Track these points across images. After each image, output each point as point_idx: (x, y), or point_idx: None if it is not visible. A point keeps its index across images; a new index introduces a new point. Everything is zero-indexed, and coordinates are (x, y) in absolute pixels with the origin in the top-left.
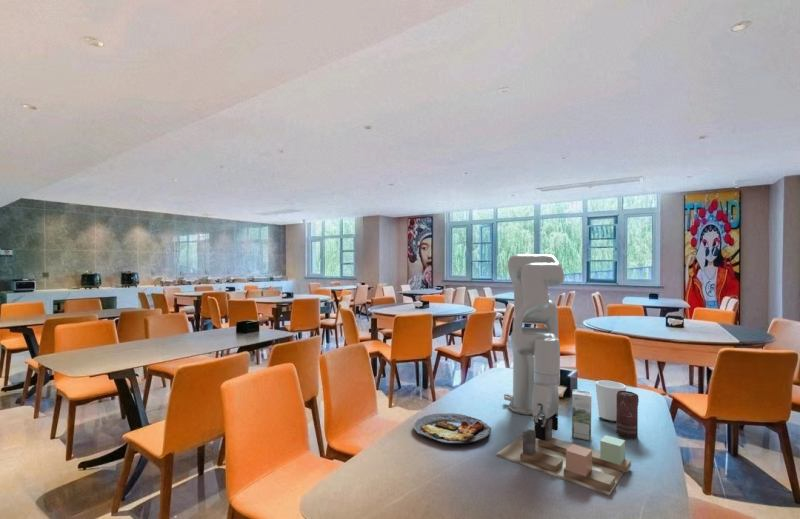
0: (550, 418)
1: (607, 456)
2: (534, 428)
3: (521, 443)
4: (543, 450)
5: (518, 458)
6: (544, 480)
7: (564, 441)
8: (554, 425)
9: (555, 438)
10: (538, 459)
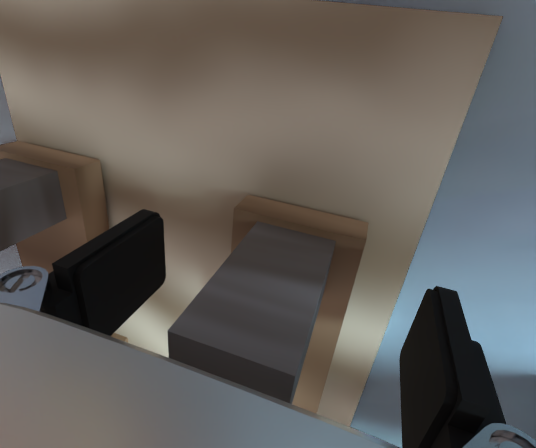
0: (429, 404)
1: None
2: (88, 241)
3: (217, 70)
4: (211, 229)
5: (32, 124)
6: (12, 252)
7: (321, 359)
8: (407, 375)
9: (341, 313)
10: (21, 241)
